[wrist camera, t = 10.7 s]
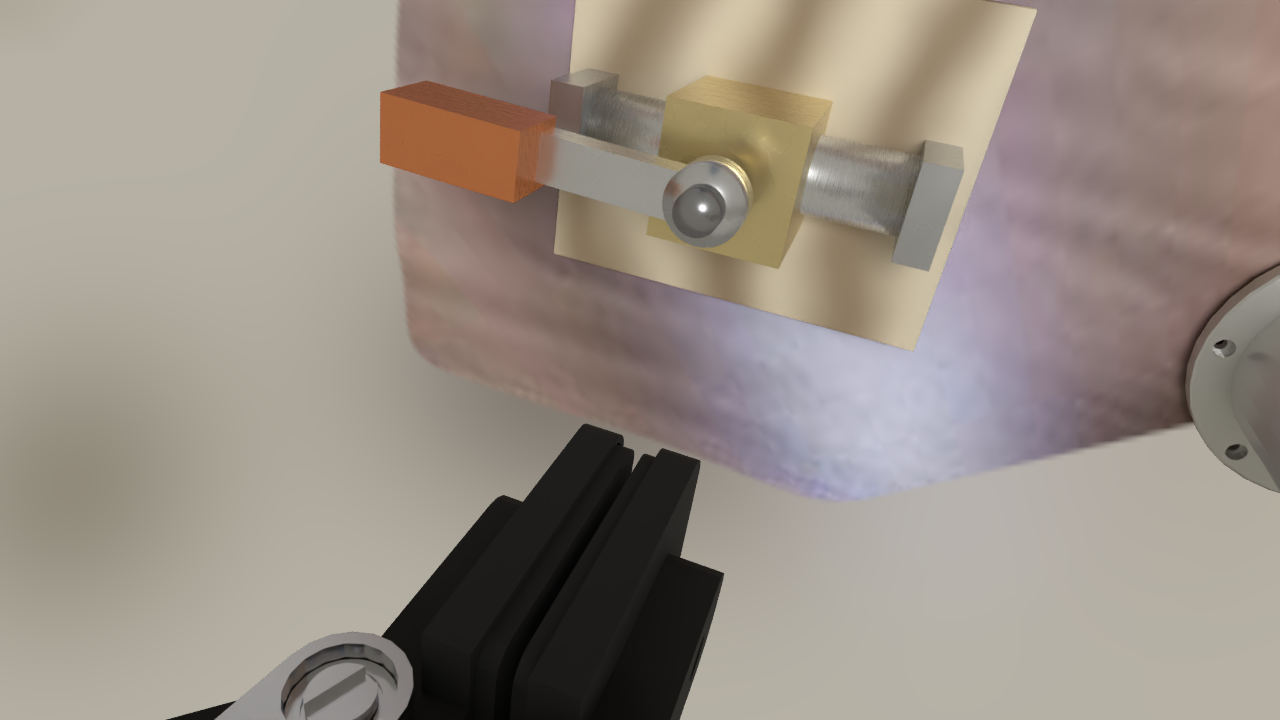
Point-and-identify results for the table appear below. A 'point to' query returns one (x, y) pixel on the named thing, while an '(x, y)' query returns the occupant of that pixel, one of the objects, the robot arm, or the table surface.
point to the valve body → (773, 161)
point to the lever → (555, 161)
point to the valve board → (861, 111)
